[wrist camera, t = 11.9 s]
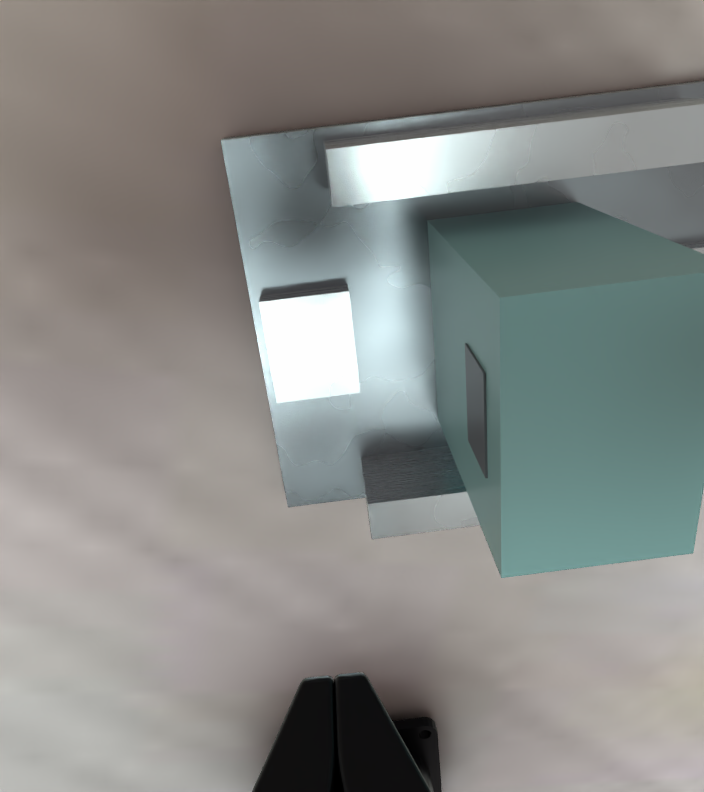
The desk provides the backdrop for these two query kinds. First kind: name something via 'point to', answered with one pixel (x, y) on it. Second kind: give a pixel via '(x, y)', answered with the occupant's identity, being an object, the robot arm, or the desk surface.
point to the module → (571, 383)
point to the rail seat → (421, 266)
